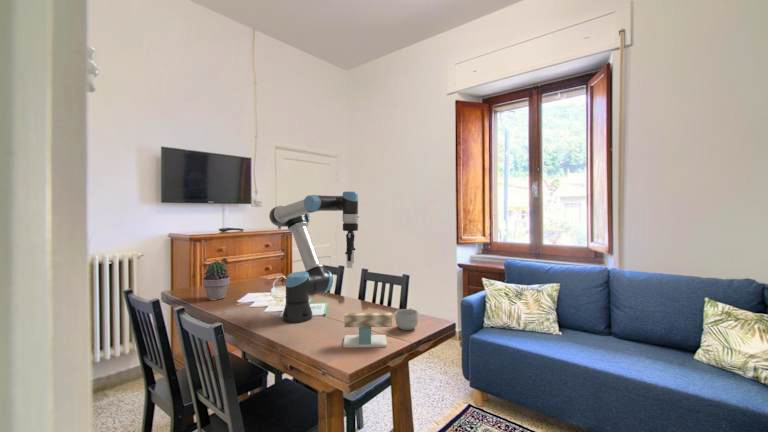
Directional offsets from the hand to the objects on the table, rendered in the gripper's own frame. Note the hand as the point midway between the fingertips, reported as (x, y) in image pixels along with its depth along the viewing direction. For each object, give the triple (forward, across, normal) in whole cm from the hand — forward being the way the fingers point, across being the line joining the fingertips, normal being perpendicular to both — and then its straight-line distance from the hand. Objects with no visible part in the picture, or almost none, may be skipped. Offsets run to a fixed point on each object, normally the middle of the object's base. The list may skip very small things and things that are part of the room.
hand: (350, 265), depth 173 cm
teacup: (+29, -7, -28) cm, 41 cm away
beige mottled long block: (+22, -25, -9) cm, 34 cm away
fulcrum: (+29, -25, -8) cm, 39 cm away
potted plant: (+29, +48, +88) cm, 104 cm away
